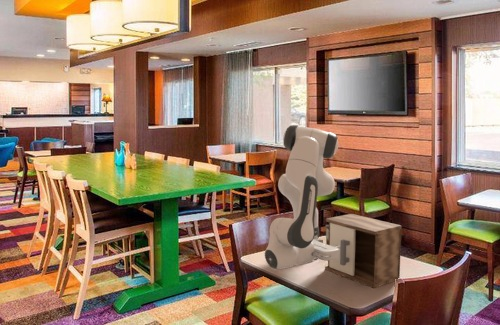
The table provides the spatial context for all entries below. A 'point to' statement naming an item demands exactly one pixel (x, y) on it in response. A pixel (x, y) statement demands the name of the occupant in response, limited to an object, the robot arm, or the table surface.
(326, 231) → the food container
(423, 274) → the table surface
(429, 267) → the table surface
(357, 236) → the cabinet
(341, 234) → the sliding door
